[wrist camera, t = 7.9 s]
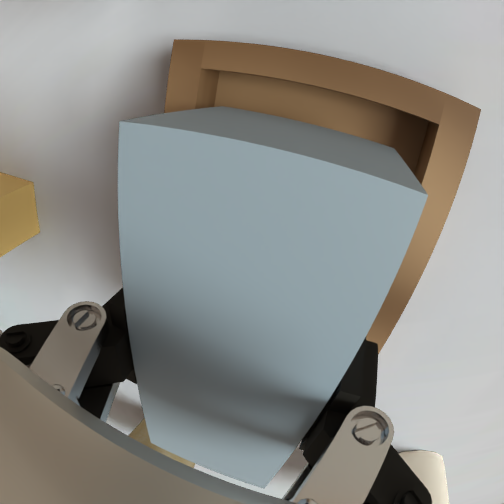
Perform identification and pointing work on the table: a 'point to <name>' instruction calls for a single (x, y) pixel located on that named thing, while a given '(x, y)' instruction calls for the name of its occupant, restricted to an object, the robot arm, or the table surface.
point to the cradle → (341, 124)
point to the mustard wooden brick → (16, 212)
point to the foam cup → (429, 473)
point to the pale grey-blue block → (252, 274)
